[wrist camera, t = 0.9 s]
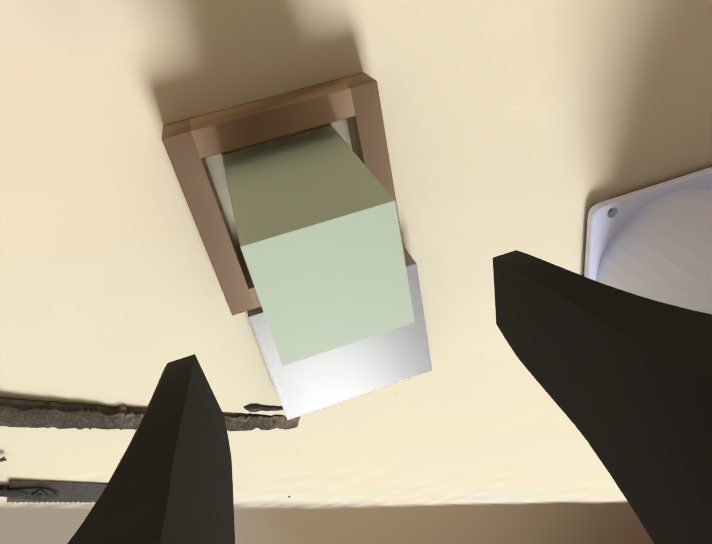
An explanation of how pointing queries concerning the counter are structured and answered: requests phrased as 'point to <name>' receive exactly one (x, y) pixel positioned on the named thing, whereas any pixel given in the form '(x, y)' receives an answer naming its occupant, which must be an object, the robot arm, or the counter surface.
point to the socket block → (260, 124)
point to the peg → (318, 243)
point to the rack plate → (348, 361)
